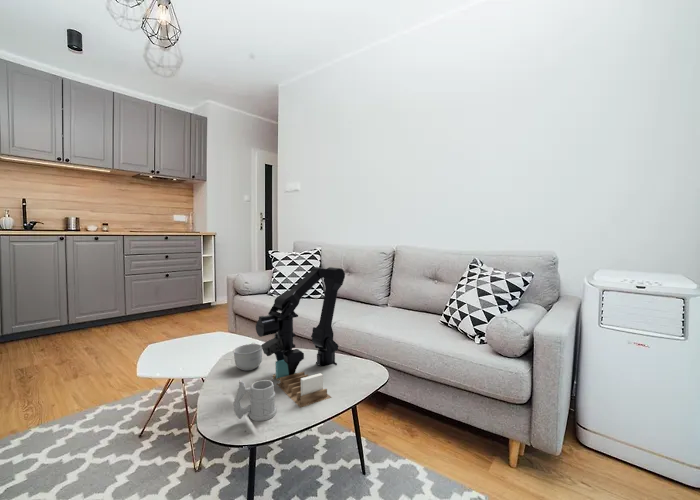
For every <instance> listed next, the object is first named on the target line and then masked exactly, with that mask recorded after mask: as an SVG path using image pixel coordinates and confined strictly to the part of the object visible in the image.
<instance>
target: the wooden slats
mask: <svg viewBox="0 0 700 500" xmlns="http://www.w3.org/2000/svg"><path fill="white" fill-rule="evenodd" d="M296 373H297V372H295V374H296ZM288 376H289V375H288ZM284 377H285V376H284ZM280 378H281V377H280ZM280 378H276V373H275V374H272V380H276V381H279V382H280Z"/></svg>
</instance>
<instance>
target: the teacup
mask: <svg viewBox="0 0 700 500" xmlns="http://www.w3.org/2000/svg"><path fill="white" fill-rule="evenodd" d="M261 345H262V344H259V343H256V342H252V343H248V344H242V345H239V346H237V347H235V348H234V349H233V351H232V352H233V356H234V358H233V359H234V364H235V366H236V368H238V369H240V370H241V371H251V370H255V369H257V368H258V366H260V365H261V363H262V361H263V349H262V347H261Z"/></svg>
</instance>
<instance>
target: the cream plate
mask: <svg viewBox="0 0 700 500" xmlns="http://www.w3.org/2000/svg"><path fill="white" fill-rule="evenodd" d="M323 376H324V375H323V374H322V373H321V372H319V373H316V374H311V375H308V377H304V378H301V396H303V395H306V394H310V393H313V392H316V391H319V390H323V389H324V377H323Z"/></svg>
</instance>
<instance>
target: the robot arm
mask: <svg viewBox="0 0 700 500" xmlns="http://www.w3.org/2000/svg"><path fill="white" fill-rule="evenodd" d="M345 277H346V273H345V271H344V269H342V268H339V267H332V266H330V267H326V268H324V267H319V266H315V267H313V268H311V270H310V271H309V272H308V273H307V274H306V275H305V276H304V277H303V278H302V279H301V280H300V281H299V282H297V284H295V285H294V286H293V287H292V288H291V289H289V290H287V291H284V292H283V293H281V294H279V295H278V296H276V298H274V302H273V305H272V306H271V308H270V310H269V312H268V315H260V316H258V320H257V321H256V324H255V332H256V334H257V336H258V337H261V338H262V337H266V336H270V335H274V337H273V338H271V339H268V340H267V341H265V342H264V343H262V344H260V345H261V347H262V353H263V354H264V355H266V356H267V357H269V356H272V355H273V354H274V355H275V358H276V361H280V360H284V362H286V363H287V365H288V372H289V375H293V374H294V373H296V370H297V368H298V366H299V365H300V362H302V361H303V360H305V354H304V352H303V351H302V350H300V349H298V348H296V344H295V343H294V337H296V333H295V332H294V318H298V317H299V314H297V313H296V312H295V310H296V309H297V307H298V305H300V302H301V299H302V297H304V295H306V293H308V292H309V291H310V290H311V289H312V288H313V287H314V286H315V285H316V284H317V283H318V282H319V281H320V280H321V279H323V283H324V286H325V290H324V297H323V302H322V307H321V312H320V317H319V322H318V325H316V327H315V326H314V327H312V333H311V336H310V338H311V342H312V344H314V347H315V348H316V349H317V353H316V361H315V364H316V365H318V366H319V367H321V368H322V367H327V366H331V365H335V366H337V365H338V363H337V362H336V352H337V351H338V349H339V344H338V343H336V341H335V340H334V331H333V327H332V324H333V318H334V313H335V309H336V308H335V307H336V302H337V297H338V292H339V290H340V289H341V287H342V286H343V284H344V281H345Z"/></svg>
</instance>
